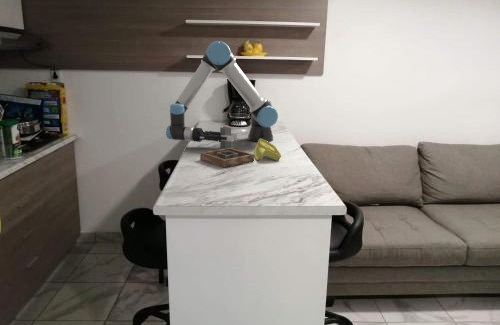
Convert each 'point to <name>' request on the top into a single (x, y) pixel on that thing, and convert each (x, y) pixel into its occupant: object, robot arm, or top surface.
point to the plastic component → (266, 150)
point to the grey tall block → (226, 131)
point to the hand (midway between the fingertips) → (235, 137)
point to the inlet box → (227, 157)
